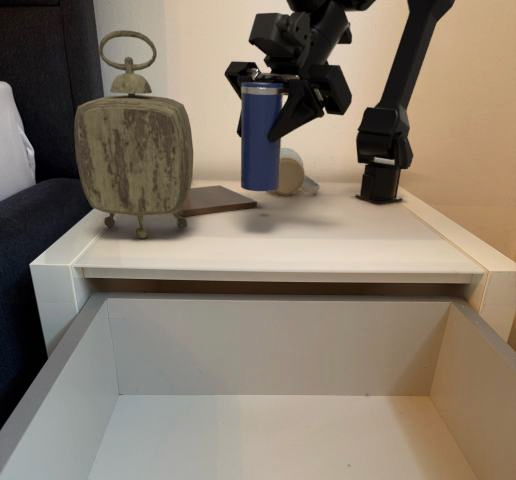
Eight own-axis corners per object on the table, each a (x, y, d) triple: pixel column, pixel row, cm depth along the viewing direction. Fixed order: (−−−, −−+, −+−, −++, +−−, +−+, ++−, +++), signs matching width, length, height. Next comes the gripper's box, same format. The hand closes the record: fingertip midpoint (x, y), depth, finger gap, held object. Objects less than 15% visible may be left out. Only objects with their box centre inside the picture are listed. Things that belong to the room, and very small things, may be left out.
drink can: (269, 181, 73) (272, 82, 67) (286, 189, 69) (291, 84, 63) (234, 184, 71) (234, 81, 65) (249, 192, 67) (251, 84, 61)
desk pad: (219, 190, 98) (219, 185, 97) (257, 207, 87) (257, 201, 87) (151, 197, 91) (151, 192, 90) (183, 216, 81) (183, 210, 80)
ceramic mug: (265, 196, 94) (267, 153, 90) (263, 186, 101) (265, 146, 97) (321, 198, 94) (326, 156, 91) (315, 188, 102) (319, 148, 98)
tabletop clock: (196, 226, 76) (189, 34, 64) (191, 245, 69) (182, 30, 56) (100, 224, 76) (74, 30, 63) (84, 243, 68) (51, 26, 55)
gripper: (234, -9, 67) (173, 86, 65) (350, -18, 56) (280, 95, 54) (271, 60, 76) (218, 144, 74) (377, 64, 65) (318, 163, 63)
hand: (253, 137), depth 66 cm, fingers closed on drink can, 5 cm apart
